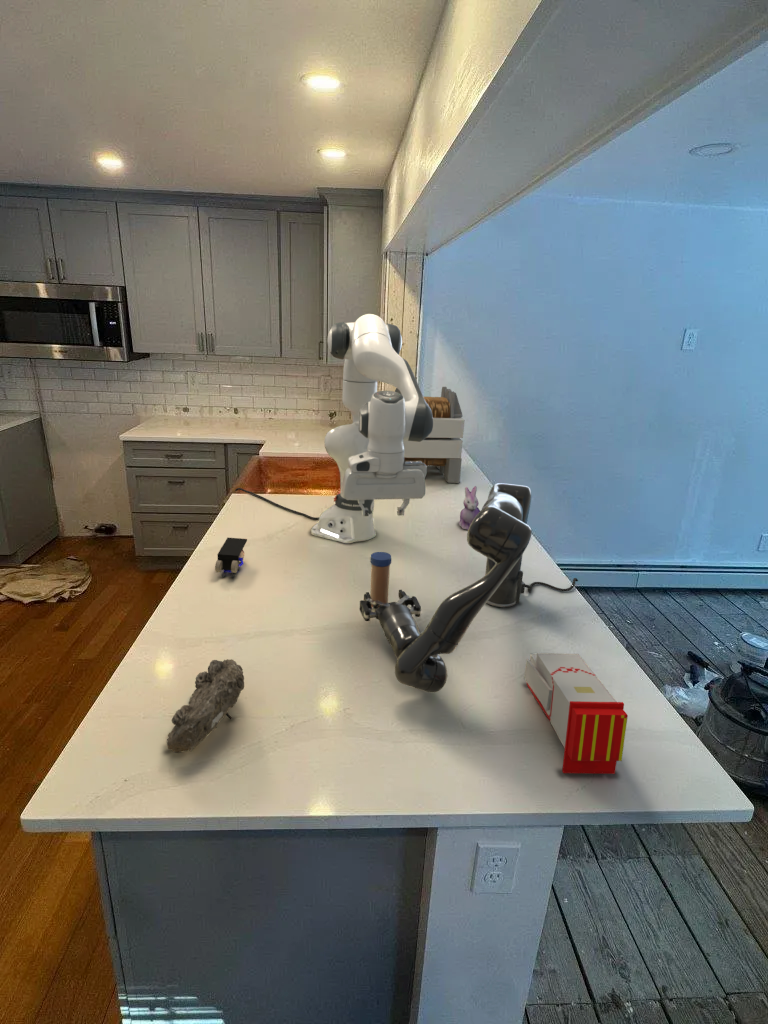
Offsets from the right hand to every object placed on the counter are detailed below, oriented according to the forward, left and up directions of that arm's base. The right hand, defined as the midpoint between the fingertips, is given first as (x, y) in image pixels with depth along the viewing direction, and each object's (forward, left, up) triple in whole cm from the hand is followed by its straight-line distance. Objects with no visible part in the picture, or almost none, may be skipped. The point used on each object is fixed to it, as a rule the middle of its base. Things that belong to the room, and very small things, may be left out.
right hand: (383, 594), depth 143 cm
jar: (0, -4, -7) cm, 8 cm away
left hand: (0, -4, +20) cm, 20 cm away
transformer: (-49, -129, -7) cm, 139 cm away
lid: (0, -4, +8) cm, 9 cm away
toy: (-26, +44, -7) cm, 52 cm away
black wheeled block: (+38, -34, -7) cm, 51 cm away
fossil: (+41, +31, -7) cm, 51 cm away
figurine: (-47, -59, -7) cm, 76 cm away
